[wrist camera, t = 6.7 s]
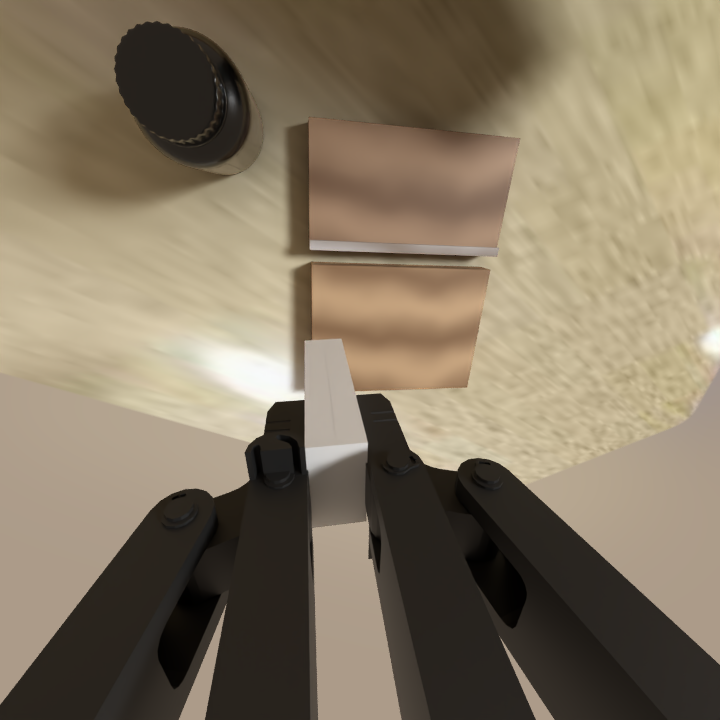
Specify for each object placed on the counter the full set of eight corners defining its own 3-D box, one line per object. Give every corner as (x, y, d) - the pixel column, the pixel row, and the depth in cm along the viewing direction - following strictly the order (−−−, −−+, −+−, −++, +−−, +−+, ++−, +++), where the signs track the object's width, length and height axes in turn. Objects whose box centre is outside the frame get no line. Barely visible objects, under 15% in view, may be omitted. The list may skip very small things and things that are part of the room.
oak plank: (311, 261, 33) (311, 264, 31) (480, 266, 36) (490, 269, 34) (311, 383, 38) (312, 392, 36) (459, 379, 41) (467, 387, 39)
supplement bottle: (188, 53, 25) (106, -56, 14) (276, 107, 27) (262, 48, 17) (163, 149, 27) (76, 116, 17) (247, 192, 30) (218, 188, 19)
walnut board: (308, 121, 28) (308, 115, 26) (507, 141, 31) (522, 137, 29) (309, 246, 32) (309, 249, 30) (485, 253, 35) (497, 256, 33)
